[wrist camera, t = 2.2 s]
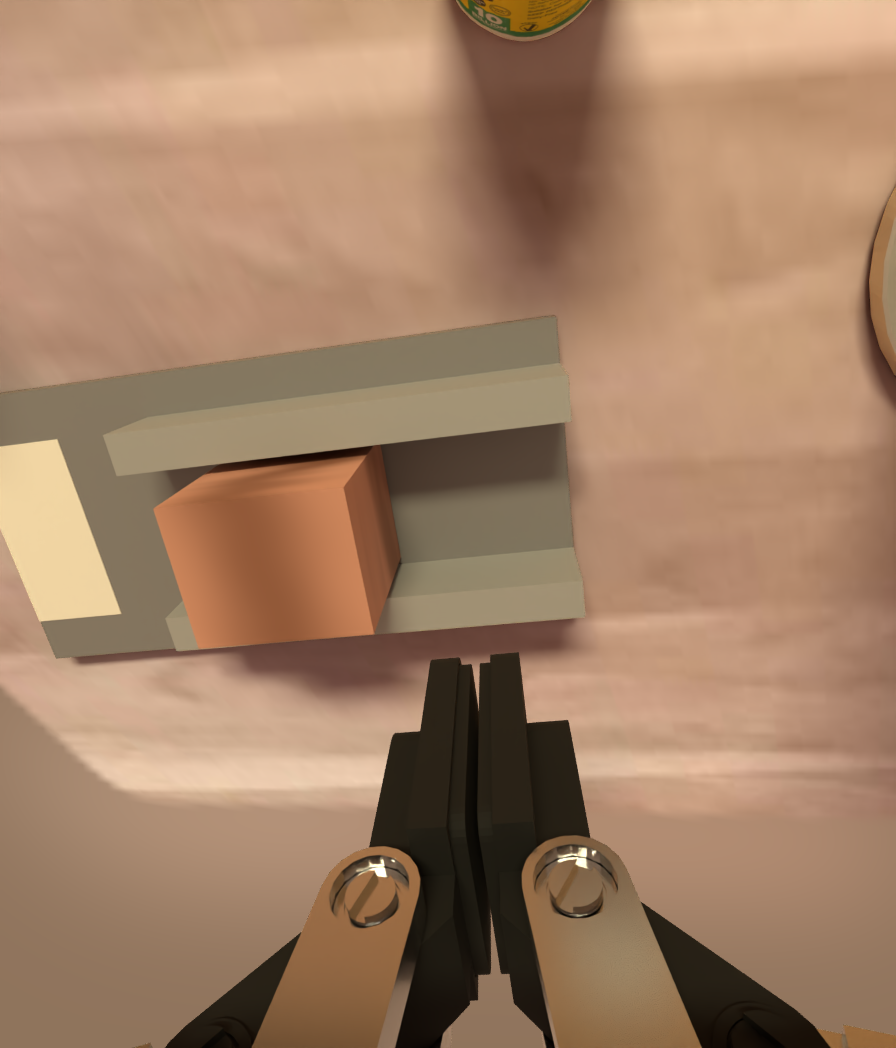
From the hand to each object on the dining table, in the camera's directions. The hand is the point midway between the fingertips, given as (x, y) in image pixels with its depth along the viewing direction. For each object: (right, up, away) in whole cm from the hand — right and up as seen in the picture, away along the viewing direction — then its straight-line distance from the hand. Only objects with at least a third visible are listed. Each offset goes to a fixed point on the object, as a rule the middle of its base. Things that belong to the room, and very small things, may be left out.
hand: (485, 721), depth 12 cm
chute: (-8, +5, +15) cm, 17 cm away
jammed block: (-6, +4, +13) cm, 15 cm away
